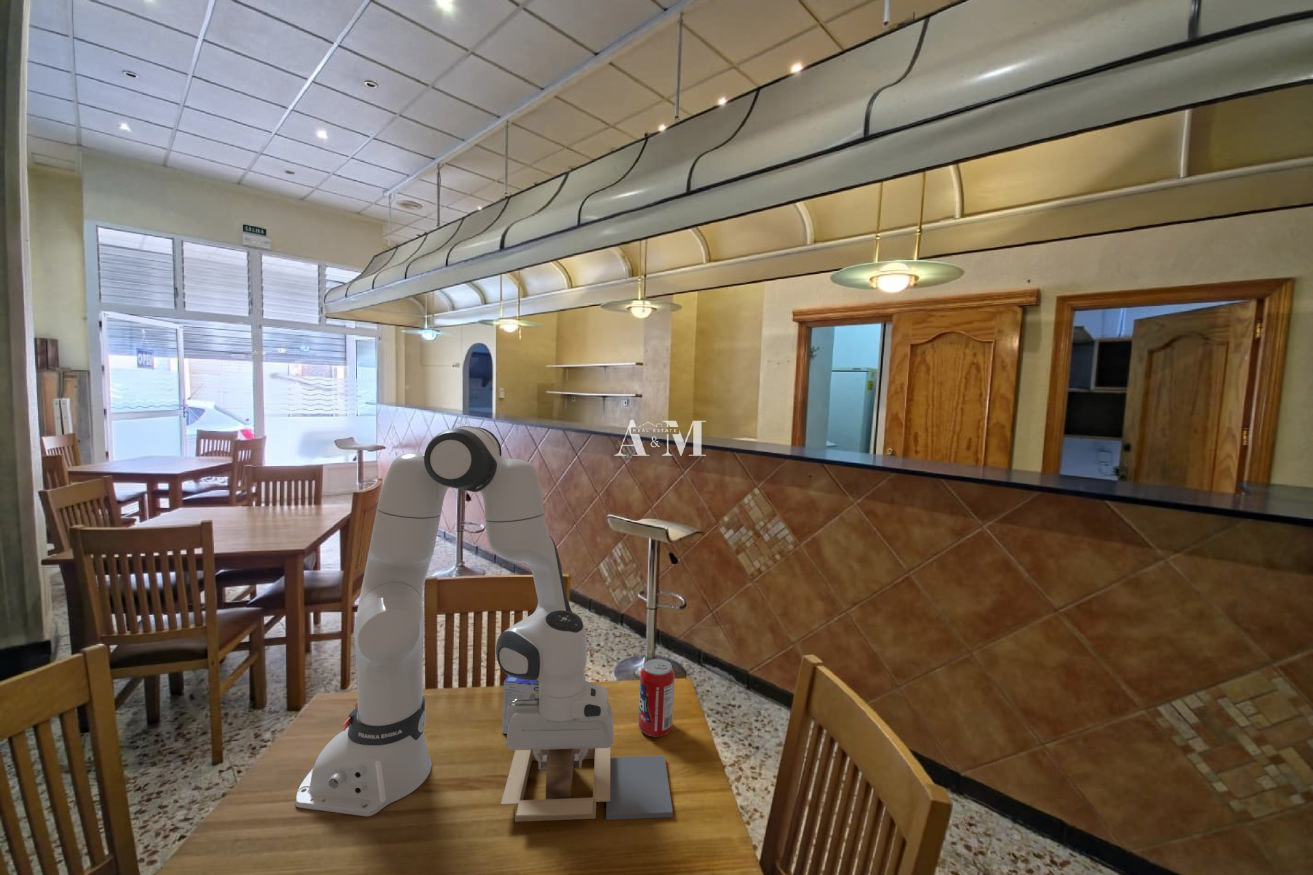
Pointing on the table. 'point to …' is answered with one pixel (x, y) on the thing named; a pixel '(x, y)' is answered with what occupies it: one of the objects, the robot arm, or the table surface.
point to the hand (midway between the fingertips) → (560, 766)
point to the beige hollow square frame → (556, 807)
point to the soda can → (656, 697)
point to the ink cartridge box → (517, 694)
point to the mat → (638, 788)
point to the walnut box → (559, 773)
